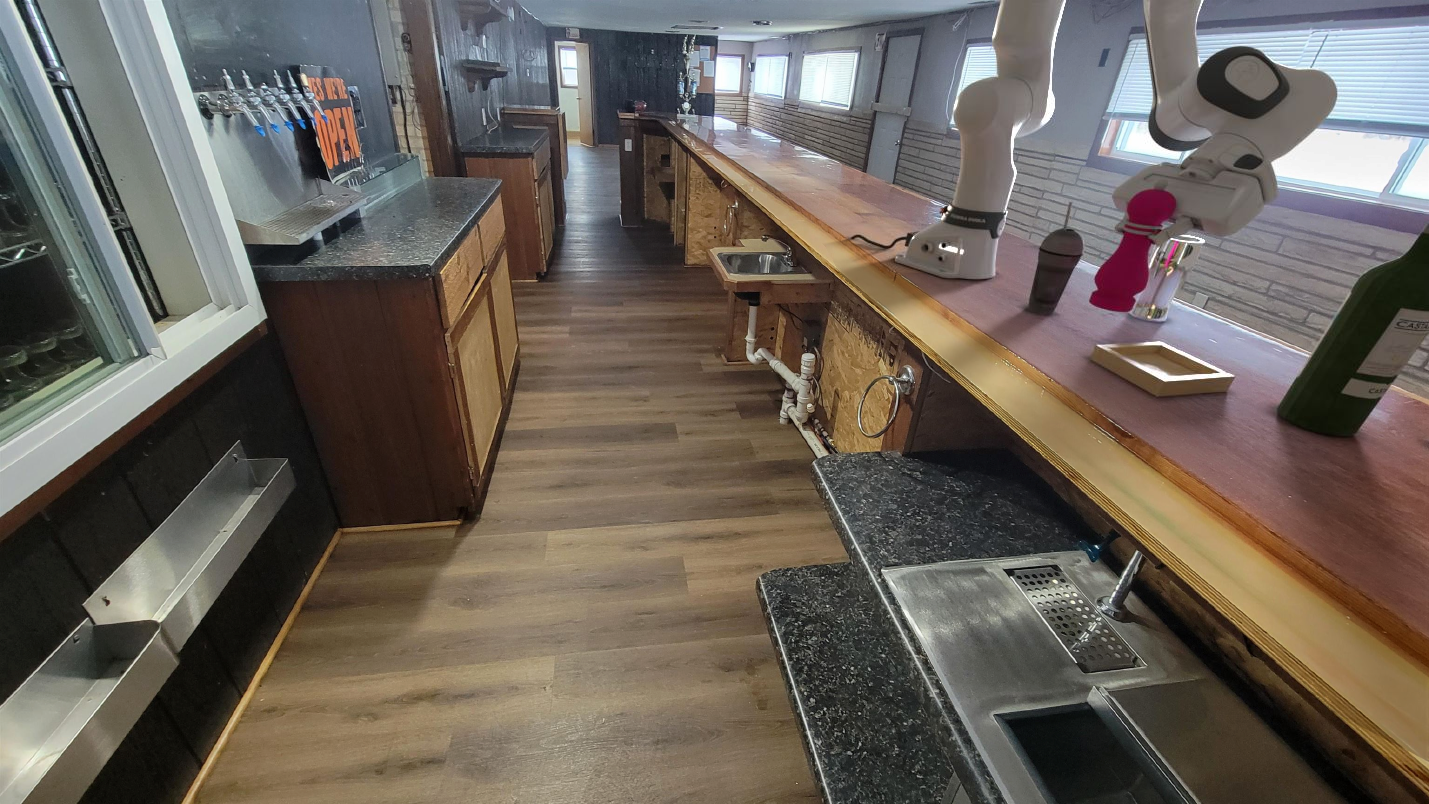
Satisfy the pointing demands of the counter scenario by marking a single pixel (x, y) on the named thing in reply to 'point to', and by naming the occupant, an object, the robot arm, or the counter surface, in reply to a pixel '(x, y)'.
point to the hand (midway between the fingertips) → (1135, 236)
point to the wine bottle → (1363, 346)
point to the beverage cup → (1055, 267)
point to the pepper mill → (1133, 250)
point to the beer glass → (1166, 276)
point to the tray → (1161, 369)
